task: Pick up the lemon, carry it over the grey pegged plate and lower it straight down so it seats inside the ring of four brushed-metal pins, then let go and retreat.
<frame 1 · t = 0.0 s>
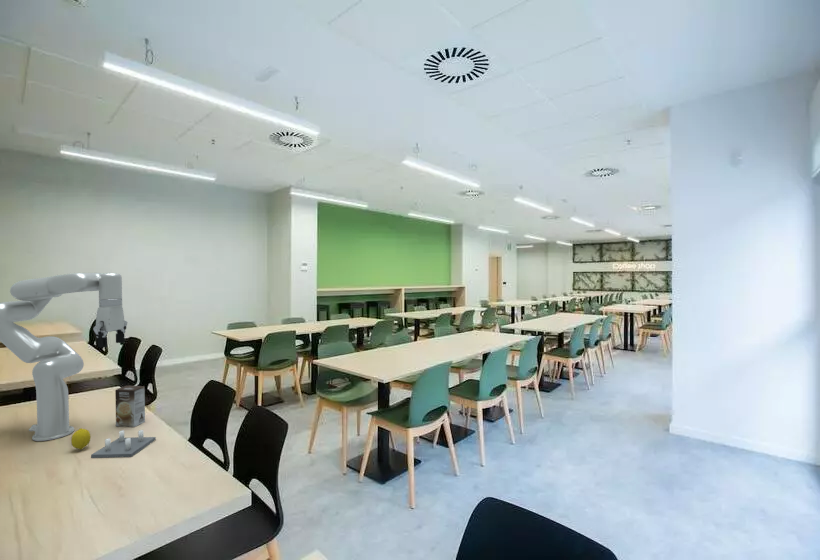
hand: (111, 344, 157), 37 cm above the table, tool pointing down, fingers open, 9 cm apart
coffee box: (130, 424, 168), on the table
grey pegged plate: (125, 448, 145), on the table
lemon: (81, 450, 144), on the table
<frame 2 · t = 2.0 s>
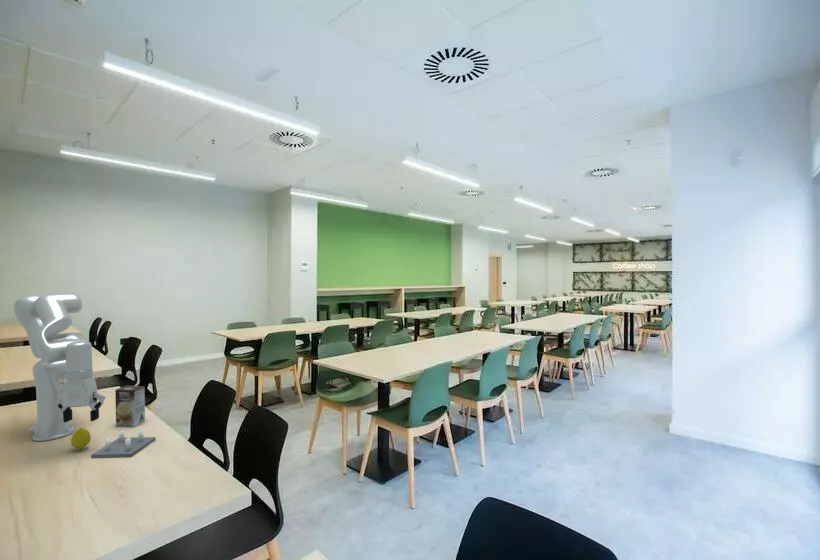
hand: (81, 420, 143), 11 cm above the table, tool pointing down, fingers open, 9 cm apart
nothing on the table moved.
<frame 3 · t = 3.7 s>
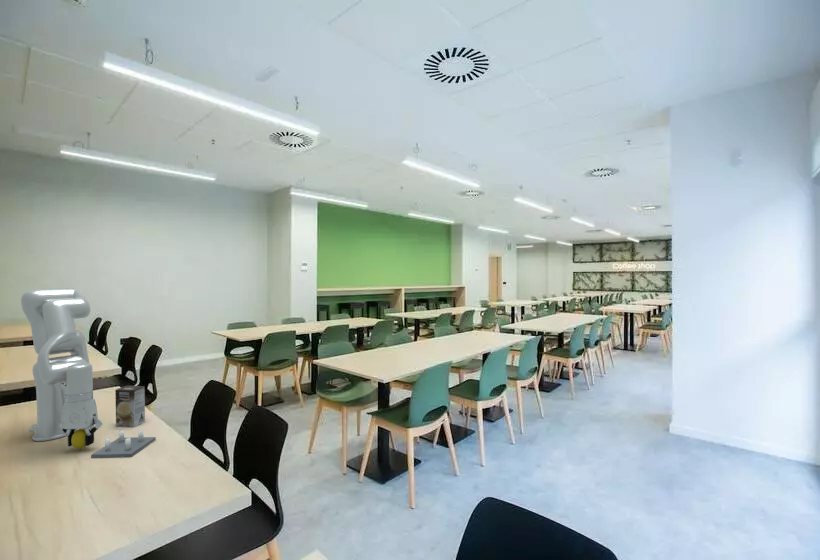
hand: (81, 444, 144), 2 cm above the table, tool pointing down, fingers closed on lemon, 5 cm apart
lemon: (81, 450, 144), on the table, touching gripper
everything else where it was.
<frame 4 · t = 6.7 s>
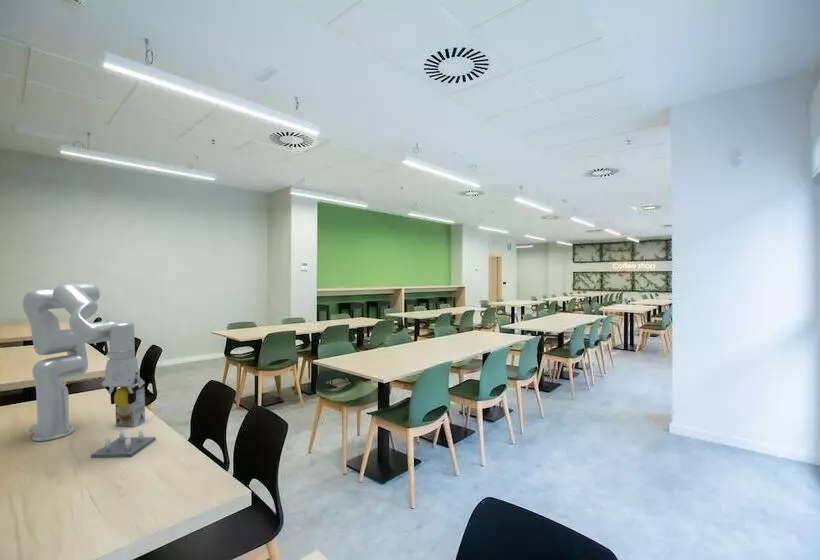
hand: (123, 402, 144), 17 cm above the table, tool pointing down, fingers closed on lemon, 5 cm apart
lemon: (123, 408, 144), point 15 cm above the table, touching gripper
everything else where it was.
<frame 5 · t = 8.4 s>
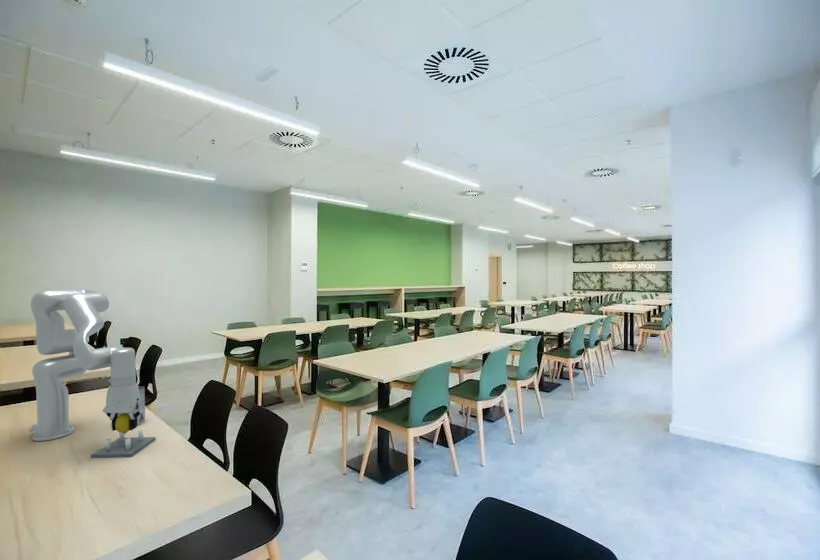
hand: (124, 428, 144), 8 cm above the table, tool pointing down, fingers closed on lemon, 5 cm apart
lemon: (124, 434, 144), point 5 cm above the table, touching gripper
everything else where it was.
when the fingers open (5 cm above the table, at t = 9.8 s): lemon drops 2 cm, resting on grey pegged plate.
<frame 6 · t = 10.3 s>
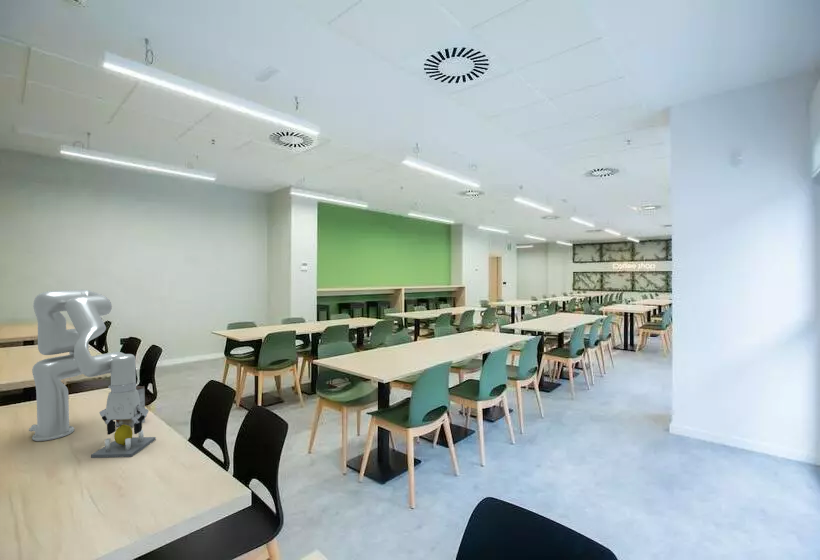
hand: (124, 432, 145), 6 cm above the table, tool pointing down, fingers open, 9 cm apart
lemon: (123, 445, 145), point 1 cm above the table, touching grey pegged plate
everything else where it was.
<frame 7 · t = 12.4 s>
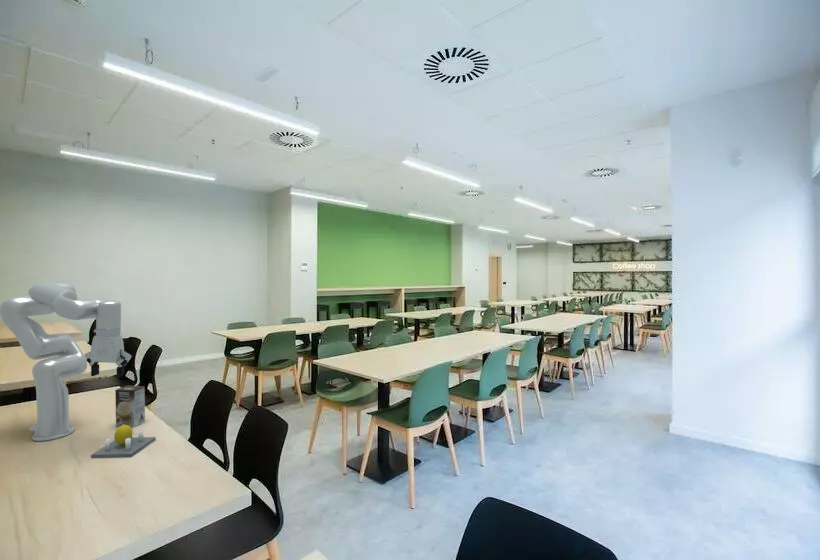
hand: (107, 375, 150), 26 cm above the table, tool pointing down, fingers open, 9 cm apart
nothing on the table moved.
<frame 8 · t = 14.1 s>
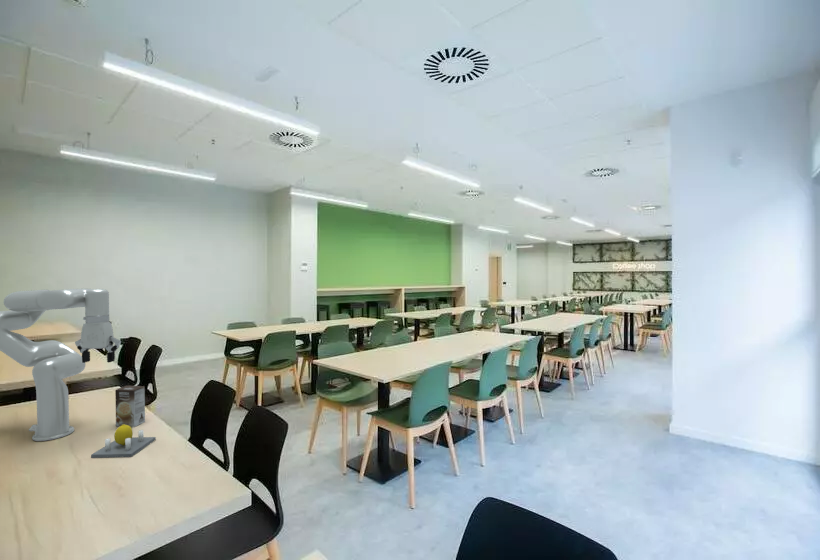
hand: (98, 361, 155), 30 cm above the table, tool pointing down, fingers open, 9 cm apart
nothing on the table moved.
at the end: lemon inside the target area on the grey pegged plate (0.4 cm from its centre), point 1.0 cm above the grey pegged plate's base; the gripper is holding nothing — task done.
